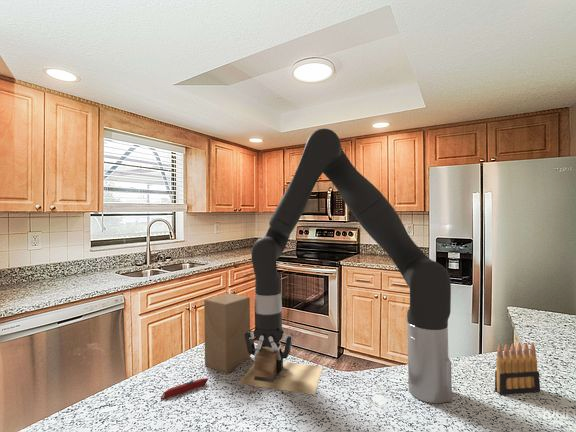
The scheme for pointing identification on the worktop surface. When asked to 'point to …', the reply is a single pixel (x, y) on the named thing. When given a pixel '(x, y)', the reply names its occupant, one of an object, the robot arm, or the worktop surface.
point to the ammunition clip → (516, 370)
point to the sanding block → (265, 365)
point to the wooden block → (226, 331)
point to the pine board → (289, 378)
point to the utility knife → (184, 388)
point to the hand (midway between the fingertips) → (269, 370)
